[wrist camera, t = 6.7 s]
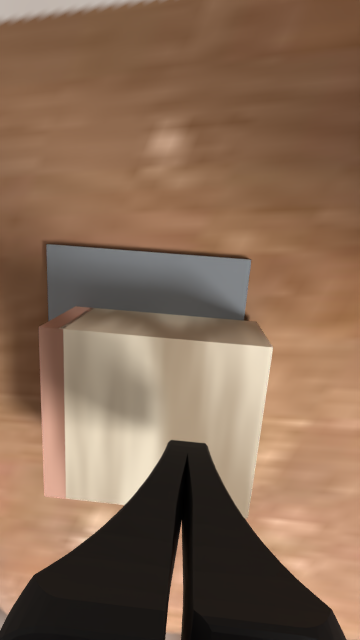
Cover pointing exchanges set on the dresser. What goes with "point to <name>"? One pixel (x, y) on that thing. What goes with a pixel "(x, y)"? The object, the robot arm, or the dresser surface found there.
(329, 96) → the dresser surface
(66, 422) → the birch block
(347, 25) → the dresser surface
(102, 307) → the mat
